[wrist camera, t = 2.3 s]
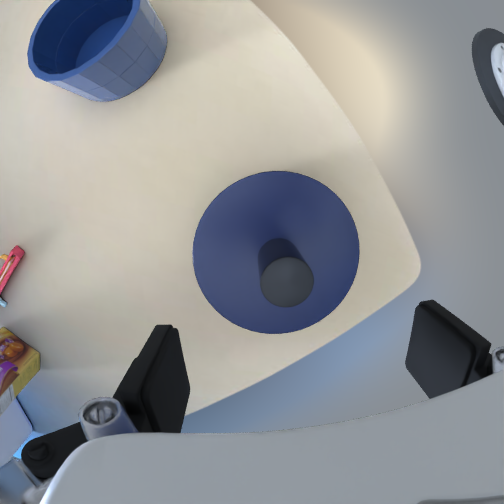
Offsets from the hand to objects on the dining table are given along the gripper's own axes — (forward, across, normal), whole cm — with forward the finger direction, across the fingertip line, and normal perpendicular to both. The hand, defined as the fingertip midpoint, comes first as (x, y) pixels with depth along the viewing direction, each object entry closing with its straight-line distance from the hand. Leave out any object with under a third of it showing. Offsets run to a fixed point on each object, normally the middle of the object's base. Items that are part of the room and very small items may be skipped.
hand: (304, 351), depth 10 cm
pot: (+21, +16, -23) cm, 35 cm away
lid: (+13, 0, 0) cm, 13 cm away
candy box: (+21, +40, +15) cm, 48 cm away
